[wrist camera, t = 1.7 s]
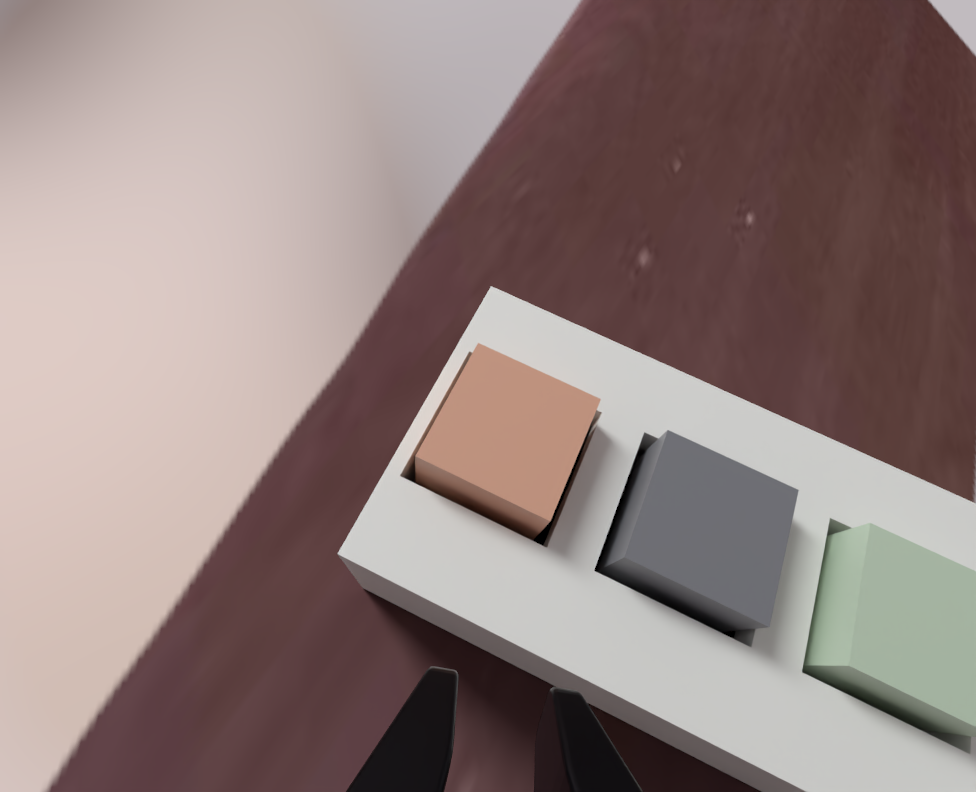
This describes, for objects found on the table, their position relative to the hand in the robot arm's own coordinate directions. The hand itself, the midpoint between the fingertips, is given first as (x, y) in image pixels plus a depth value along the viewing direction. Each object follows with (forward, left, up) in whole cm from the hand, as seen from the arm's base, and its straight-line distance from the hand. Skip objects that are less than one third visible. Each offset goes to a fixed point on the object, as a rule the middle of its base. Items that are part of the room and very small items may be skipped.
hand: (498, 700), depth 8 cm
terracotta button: (+5, -3, -7) cm, 9 cm away
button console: (+2, -7, -13) cm, 14 cm away
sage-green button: (-2, -11, -7) cm, 13 cm away
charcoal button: (+2, -7, -7) cm, 10 cm away
